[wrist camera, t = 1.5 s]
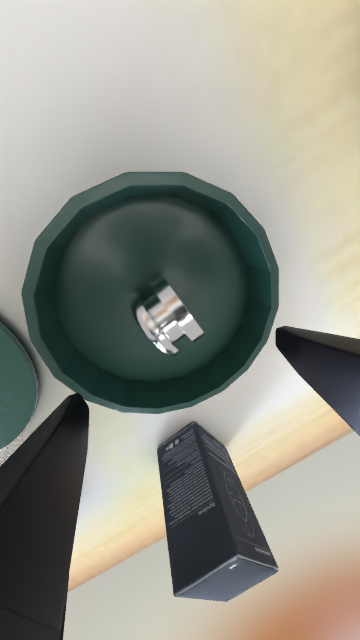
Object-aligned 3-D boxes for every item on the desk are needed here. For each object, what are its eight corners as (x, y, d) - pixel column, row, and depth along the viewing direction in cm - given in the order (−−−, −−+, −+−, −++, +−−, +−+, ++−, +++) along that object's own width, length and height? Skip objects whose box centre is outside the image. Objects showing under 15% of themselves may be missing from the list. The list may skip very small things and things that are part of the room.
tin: (101, 406, 19) (95, 440, 16) (-7, 216, 12) (-56, 210, 9) (257, 354, 21) (279, 376, 17) (245, 160, 13) (278, 138, 10)
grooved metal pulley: (193, 316, 17) (214, 347, 12) (165, 337, 17) (176, 374, 13) (157, 268, 15) (168, 284, 10) (126, 292, 15) (123, 318, 10)
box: (155, 447, 23) (171, 600, 13) (194, 419, 22) (240, 556, 13) (192, 471, 26) (226, 606, 17) (227, 448, 26) (282, 572, 16)
